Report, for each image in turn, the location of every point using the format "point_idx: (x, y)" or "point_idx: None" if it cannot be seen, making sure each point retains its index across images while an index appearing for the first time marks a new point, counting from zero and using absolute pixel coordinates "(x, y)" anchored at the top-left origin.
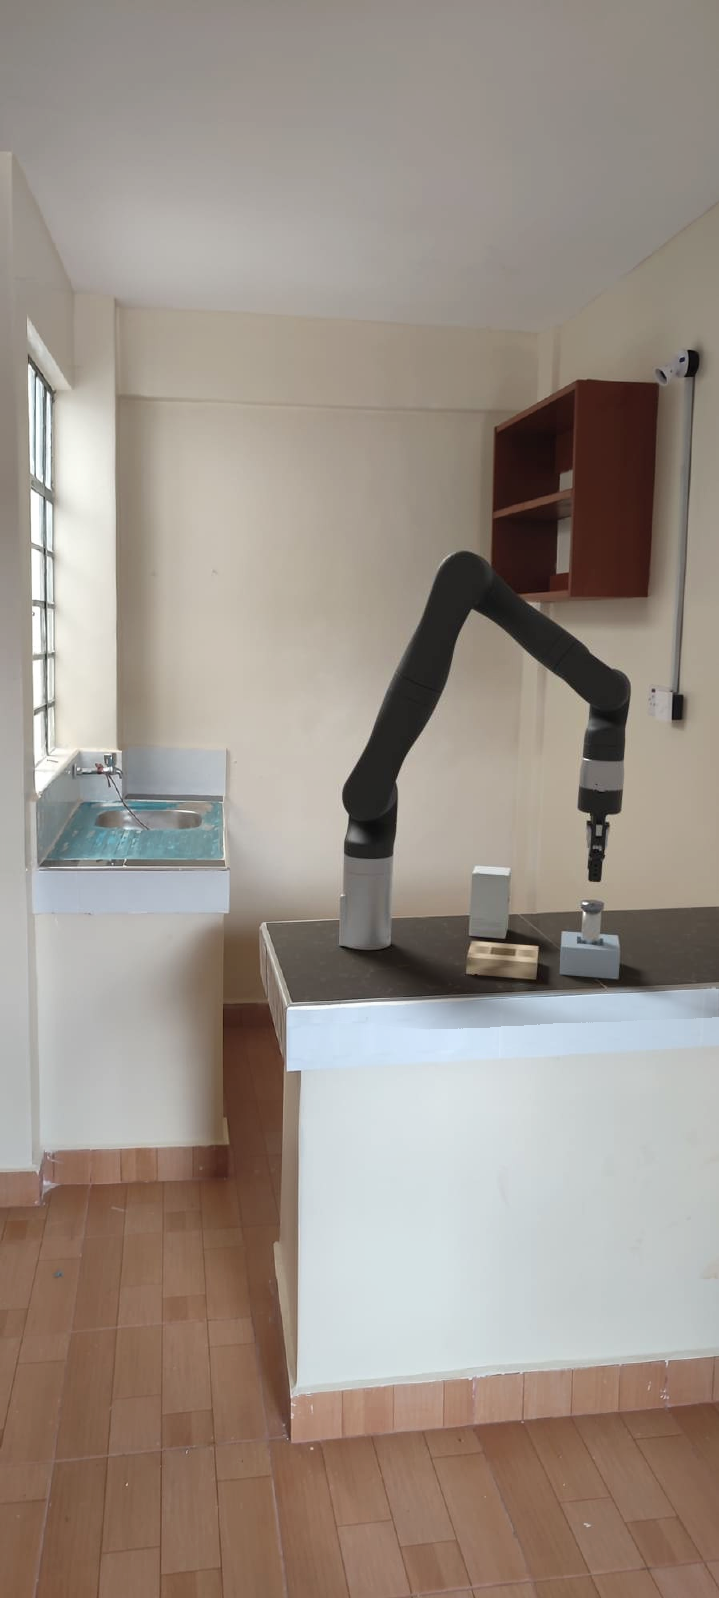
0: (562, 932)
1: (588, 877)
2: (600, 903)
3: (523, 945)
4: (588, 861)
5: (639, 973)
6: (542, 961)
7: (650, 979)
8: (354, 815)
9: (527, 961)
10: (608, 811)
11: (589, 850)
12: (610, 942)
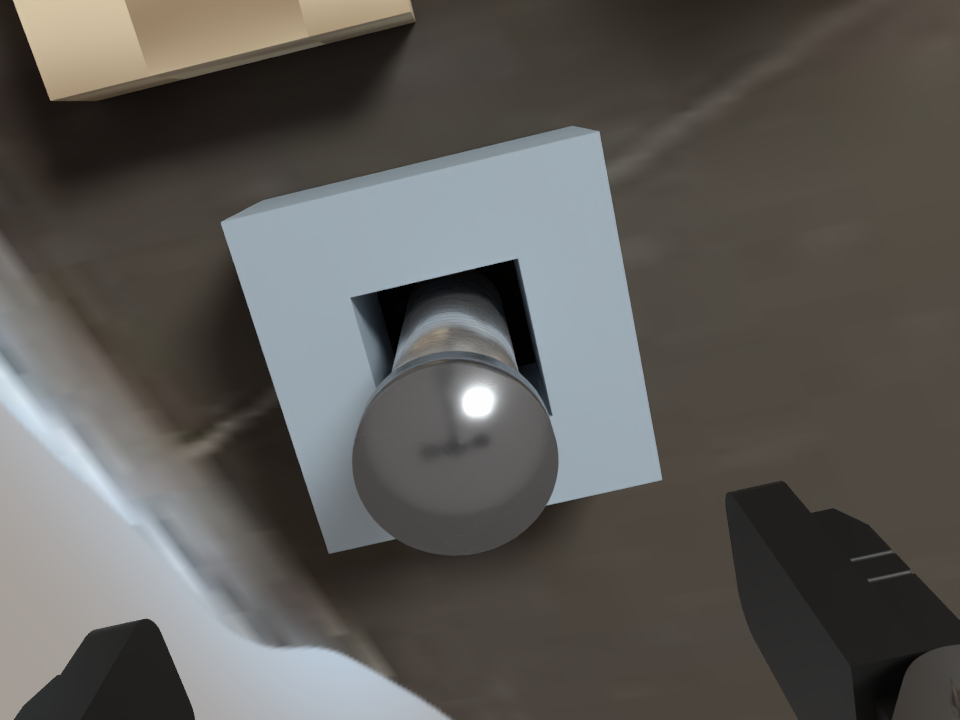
0: (568, 143)
1: (77, 651)
2: (463, 527)
3: None
4: (764, 552)
5: None
6: (452, 44)
7: (428, 601)
8: None
9: (36, 36)
10: None
11: (850, 673)
12: None
